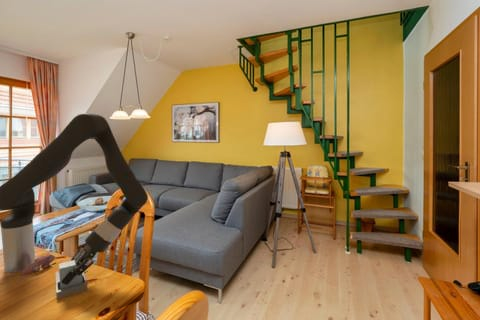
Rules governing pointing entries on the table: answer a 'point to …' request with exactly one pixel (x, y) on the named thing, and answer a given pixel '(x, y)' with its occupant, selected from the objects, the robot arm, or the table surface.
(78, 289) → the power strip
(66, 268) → the block
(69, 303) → the table surface
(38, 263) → the pink curved toy
